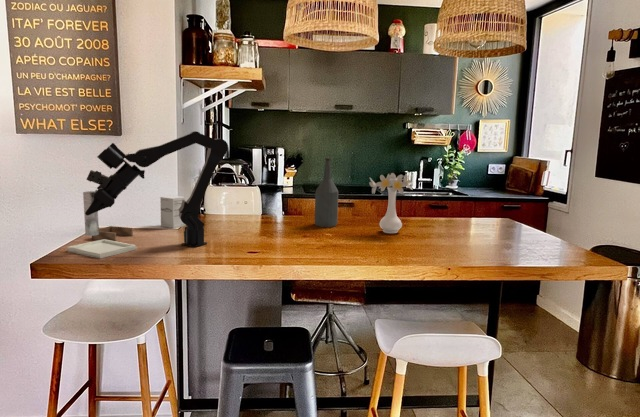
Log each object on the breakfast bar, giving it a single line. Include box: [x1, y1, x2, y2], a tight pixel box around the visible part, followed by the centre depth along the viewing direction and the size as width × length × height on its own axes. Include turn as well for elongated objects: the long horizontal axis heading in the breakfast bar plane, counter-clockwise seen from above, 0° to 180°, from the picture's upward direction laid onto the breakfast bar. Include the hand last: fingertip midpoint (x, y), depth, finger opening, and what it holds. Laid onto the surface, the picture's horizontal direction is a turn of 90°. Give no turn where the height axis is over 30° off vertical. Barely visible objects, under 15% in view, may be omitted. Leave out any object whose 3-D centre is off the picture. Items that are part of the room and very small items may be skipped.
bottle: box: [314, 157, 339, 228], centre depth 207 cm, size 10×10×30 cm
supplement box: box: [160, 195, 186, 229], centre depth 197 cm, size 7×7×13 cm
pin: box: [82, 190, 100, 237], centre depth 153 cm, size 4×4×14 cm
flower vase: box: [368, 172, 413, 234], centre depth 196 cm, size 13×18×25 cm
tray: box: [66, 239, 137, 260], centre depth 156 cm, size 16×14×2 cm
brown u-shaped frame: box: [91, 225, 134, 241], centre depth 175 cm, size 10×10×3 cm
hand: (86, 213), depth 152 cm, fingers closed on pin, 4 cm apart
